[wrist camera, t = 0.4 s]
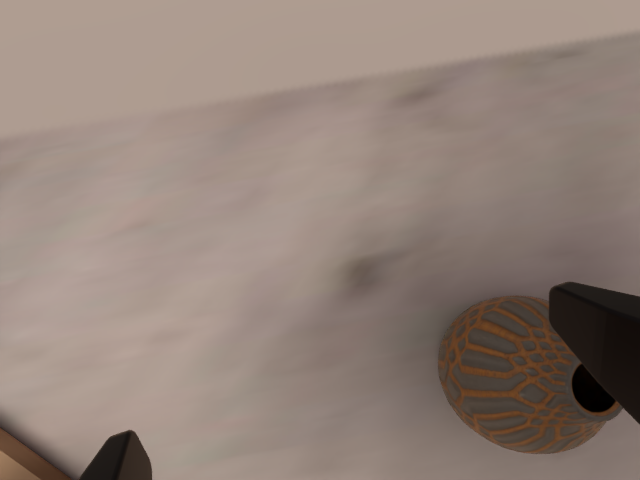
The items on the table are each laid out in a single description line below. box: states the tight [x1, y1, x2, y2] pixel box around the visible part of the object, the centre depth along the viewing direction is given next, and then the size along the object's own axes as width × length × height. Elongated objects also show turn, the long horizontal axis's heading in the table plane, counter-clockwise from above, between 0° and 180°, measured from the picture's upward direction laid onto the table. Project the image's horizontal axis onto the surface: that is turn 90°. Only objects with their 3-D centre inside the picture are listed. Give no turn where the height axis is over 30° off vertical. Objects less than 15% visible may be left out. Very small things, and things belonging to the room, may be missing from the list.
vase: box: [438, 296, 623, 454], centre depth 20 cm, size 7×7×9 cm
